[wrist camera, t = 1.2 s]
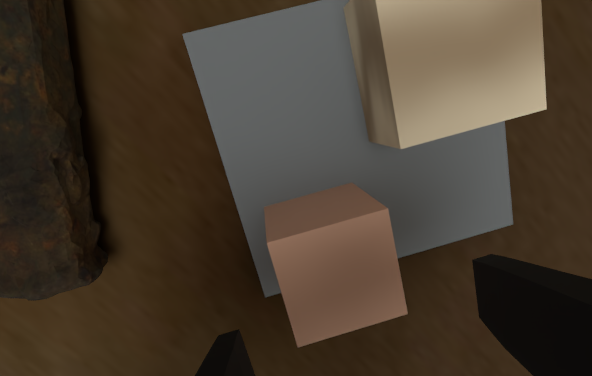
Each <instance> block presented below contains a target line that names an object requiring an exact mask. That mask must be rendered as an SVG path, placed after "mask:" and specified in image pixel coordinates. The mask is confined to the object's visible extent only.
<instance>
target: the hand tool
mask: <svg viewBox="0 0 592 376" xmlns="http://www.w3.org/2000/svg"><path fill="white" fill-rule="evenodd" d="M81 116H82V109H81V108H80V106H79V104H78V100H77V94H76V88H75V81H74V70H73V66H72V62H71V55H70V48H69V40H68V32H67V24H66V18H65V9H64V1H63V0H0V297H3V298H24V299H27V300H41V299H47V298H49V297H51V296H54V295H56V294H58V293H61V292H65V291H69V290H72V289H75V288H78V287H82V286H86V285H89V284H90V283H92V282H94V281H95V280H96V279H97V278H98V277H99V276H100V274H101V273H102V271H103V267H104V266H105V264H106V263H107V262H108V254H107V253H106V252H104V251H103V250H102V249H101V248H100V247H99V246H98V245H97V241H98V238H99V235H100V231H101V223H100V222H98V221H96V220H94V217H93V212H92V205H91V200H90V194H89V192H90V178H89V173H88V164H87V162H86V160H85V158H84V153H83V145H82V137H81V129H80V118H81Z"/></svg>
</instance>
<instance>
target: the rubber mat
mask: <svg viewBox="0 0 592 376" xmlns="http://www.w3.org/2000/svg"><path fill="white" fill-rule="evenodd" d="M349 1H350V0H321V1H317V2H312V3H308V4H304V5H300V6H296V7H292V8H288V9H284V10H279V11H275V12H271V13H267V14H263V15H259V16H255V17H251V18H247V19H242V20H238V21H234V22H230V23H226V24H222V25H218V26H214V27H209V28H205V29H201V30H197V31H193V32H189V33H185V34H182V35H183V38H184V41H185V44H186V47H187V50H188V54H189V57H190V60H191V63H192V66H193V70H194V73H195V76H196V79H197V82H198V85H199V89H200V92H201V95H202V98H203V101H204V104H205V108H206V111H207V114H208V117H209V120H210V124H211V127H212V130H213V133H214V136H215V139H216V143H217V146H218V149H219V152H220V155H221V158H222V162H223V165H224V168H225V171H226V174H227V178H228V181H229V184H230V187H231V190H232V193H233V197H234V200H235V203H236V206H237V209H238V213H239V216H240V219H241V222H242V225H243V228H244V232H245V235H246V238H247V241H248V244H249V247H250V251H251V254H252V257H253V260H254V263H255V267H256V270H257V273H258V276H259V279H260V282H261V286H262V289H263V292H264V295H265V297H269V296H272V295H275V294H279V293H281V289H280V286H279V283H278V279H277V276H276V273H275V269H274V266H273V263H272V259H271V256H270V253H269V249H268V246H267V241H266V228H265V215H264V207H266V206H269V205H273V204H276V203H280V202H284V201H287V200H291V199H294V198H298V197H301V196H305V195H309V194H312V193H316V192H319V191H323V190H327V189H330V188H334V187H337V186H341V185H345V184H348V183H353V184H355V185H356V186H357V187H359V188H360V189H362V190H363V191H364V192H366V193H367V194H369V195H370V196H371V197H373V198H374V199H376V200H377V201H378V202H380V203H381V204H383V205H384V206H385V207H387V208H388V211H389V216H390V221H391V227H392V232H393V237H394V243H395V248H396V253H397V258H401V257H404V256H408V255H411V254H414V253H418V252H421V251H424V250H428V249H431V248H435V247H438V246H441V245H445V244H448V243H452V242H455V241H458V240H462V239H465V238H469V237H472V236H475V235H479V234H482V233H485V232H489V231H492V230H496V229H499V228H502V227H506V226H509V225H513V217H512V205H511V193H510V181H509V169H508V157H507V145H506V133H505V121H502V122H498V123H495V124H491V125H487V126H484V127H480V128H476V129H473V130H469V131H465V132H462V133H458V134H455V135H451V136H447V137H444V138H440V139H436V140H433V141H429V142H425V143H422V144H418V145H414V146H411V147H407V148H404V149H398V148H394V147H390V146H385V145H381V144H377V143H373V142H369V138H368V133H367V128H366V122H365V117H364V112H363V107H362V102H361V96H360V91H359V86H358V81H357V76H356V71H355V65H354V60H353V55H352V50H351V45H350V39H349V34H348V29H347V24H346V19H345V14H344V7H345V5H346V4H347V3H348V2H349Z"/></svg>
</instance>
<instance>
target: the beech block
mask: <svg viewBox="0 0 592 376" xmlns="http://www.w3.org/2000/svg"><path fill="white" fill-rule="evenodd" d="M344 14H345V19H346V24H347V29H348V34H349V39H350V45H351V50H352V55H353V60H354V65H355V71H356V76H357V81H358V86H359V91H360V96H361V102H362V107H363V112H364V117H365V122H366V128H367V133H368V138H369V142H373V143H377V144H381V145H385V146H390V147H394V148H398V149H404V148H407V147H411V146H414V145H418V144H422V143H425V142H429V141H433V140H436V139H440V138H444V137H447V136H451V135H455V134H458V133H462V132H465V131H469V130H473V129H476V128H480V127H484V126H487V125H491V124H495V123H498V122H502V121H505V120H509V119H513V118H516V117H520V116H524V115H527V114H531V113H535V112H538V111H542V110H546V109H547V107H546V88H545V68H544V48H543V29H542V9H541V0H350V1H349V2H348V3H347V4H346V5H345V7H344Z"/></svg>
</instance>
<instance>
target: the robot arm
mask: <svg viewBox="0 0 592 376" xmlns="http://www.w3.org/2000/svg"><path fill="white" fill-rule="evenodd" d="M472 261H473V270H474V278H475V286H476V295H477V303H478V311H479V318H480V319H481V320H482V321H483V322H484V324H485V325H486V326H487V327H488V329H489V330H490V331H491V332H492V334H493V335H494V336H495V337H496V338H497V340H498V341H499V342H500V343H501V344H502V345H503V347H504V348H505V349H506V350H507V351H508V352H509V353H510V354H511V355H512V356H513V357H514V358H515V359H517V360H518V361H519V362H520V363H521V364H522V365H523V366H524V367H525V368H526V369H527V370H528V371H529V372H530V373H531V374H532V375H533V376H592V279H588V278H584V277H580V276H577V275H573V274H569V273H565V272H561V271H557V270H554V269H550V268H546V267H542V266H539V265H535V264H531V263H527V262H523V261H519V260H515V259H512V258H507V257H503V256H498V255H493V254H490V255H487V256H484V257H480V258H477V259H474V260H472ZM195 376H255V374H254V371H253V368H252V365H251V362H250V359H249V356H248V354H247V351H246V348H245V345H244V342H243V339H242V336H241V334H240V331H239V329H238V330H235V331H232V332H228V333H225V334H222V335H218V337H217V339H216V340H215V342H214V344H213V345H212V347H211V349H210V351H209V352H208V354H207V356H206V357H205V359H204V361H203V363H202V364H201V366H200V368H199V370H198V371H197V373H196V375H195Z"/></svg>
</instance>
